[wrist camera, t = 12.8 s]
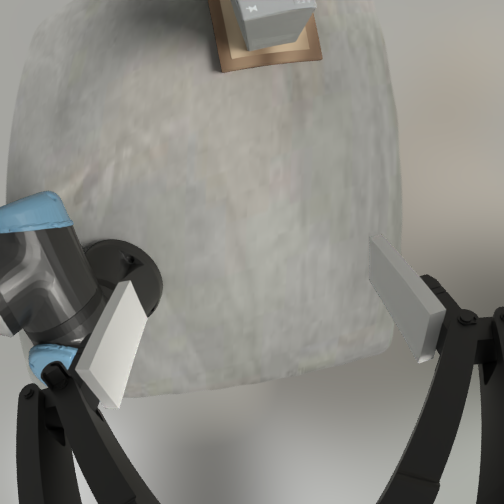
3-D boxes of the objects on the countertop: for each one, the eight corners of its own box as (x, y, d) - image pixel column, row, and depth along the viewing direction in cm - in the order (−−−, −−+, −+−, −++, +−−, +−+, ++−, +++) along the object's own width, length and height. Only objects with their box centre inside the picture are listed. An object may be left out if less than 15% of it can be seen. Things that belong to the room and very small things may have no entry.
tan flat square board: (222, 72, 36) (222, 71, 34) (206, -10, 30) (204, -14, 28) (319, 60, 35) (322, 58, 33) (302, -21, 29) (304, -25, 27)
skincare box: (295, 42, 32) (329, 11, 18) (240, 54, 33) (241, 25, 19) (278, -12, 29) (300, -65, 15) (224, -1, 29) (215, -53, 15)
